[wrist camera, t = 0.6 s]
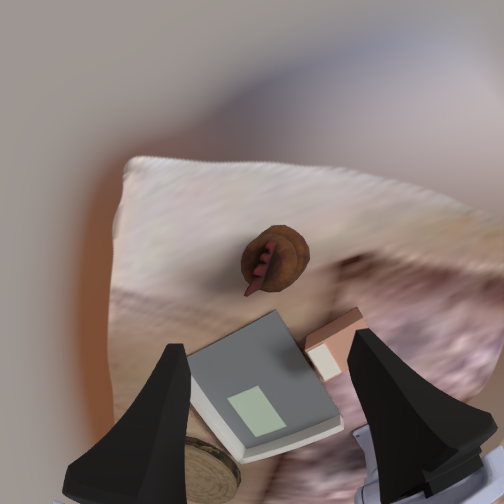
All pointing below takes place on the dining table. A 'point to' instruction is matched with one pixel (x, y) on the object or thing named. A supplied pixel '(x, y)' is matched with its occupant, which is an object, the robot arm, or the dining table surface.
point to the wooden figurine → (274, 259)
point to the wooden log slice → (209, 473)
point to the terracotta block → (334, 344)
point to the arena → (261, 392)
